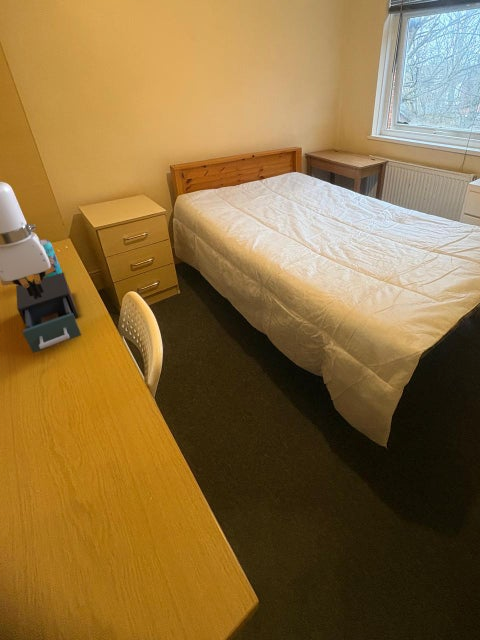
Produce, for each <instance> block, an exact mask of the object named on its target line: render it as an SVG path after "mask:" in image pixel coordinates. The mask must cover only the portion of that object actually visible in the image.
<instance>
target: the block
mask: <svg viewBox="0 0 480 640" xmlns="http://www.w3.org/2000/svg"><path fill="white" fill-rule="evenodd" d="M56 318H59V316H58V313H55V314H52V315H49V316H46V317H43V318H41V323H44V322H47V321H50V320H53V319H56Z"/></svg>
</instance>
